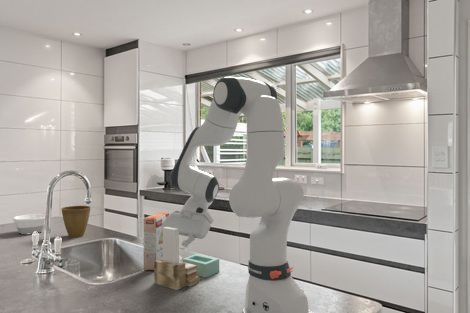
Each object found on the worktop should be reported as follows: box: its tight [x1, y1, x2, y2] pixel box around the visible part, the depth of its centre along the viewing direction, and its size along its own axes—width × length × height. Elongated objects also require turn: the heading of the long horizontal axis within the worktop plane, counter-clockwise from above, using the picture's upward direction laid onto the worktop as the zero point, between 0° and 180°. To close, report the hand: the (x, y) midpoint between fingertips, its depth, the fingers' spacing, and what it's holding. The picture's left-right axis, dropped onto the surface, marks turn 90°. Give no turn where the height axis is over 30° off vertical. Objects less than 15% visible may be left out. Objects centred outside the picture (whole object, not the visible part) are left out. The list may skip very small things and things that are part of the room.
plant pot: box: [61, 205, 91, 238], centre depth 205 cm, size 15×15×16 cm
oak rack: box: [153, 258, 187, 291], centre depth 131 cm, size 11×4×8 cm, turn 54°
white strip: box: [163, 227, 180, 265], centre depth 131 cm, size 6×2×20 cm, turn 54°
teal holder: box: [182, 253, 220, 278], centre depth 145 cm, size 12×8×5 cm, turn 54°
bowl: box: [12, 213, 46, 235], centre depth 216 cm, size 18×18×9 cm
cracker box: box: [143, 212, 170, 271], centre depth 153 cm, size 14×6×21 cm, turn 168°
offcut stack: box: [179, 260, 200, 287], centre depth 135 cm, size 14×5×6 cm, turn 54°
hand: (174, 244), depth 133 cm, fingers open, 8 cm apart
